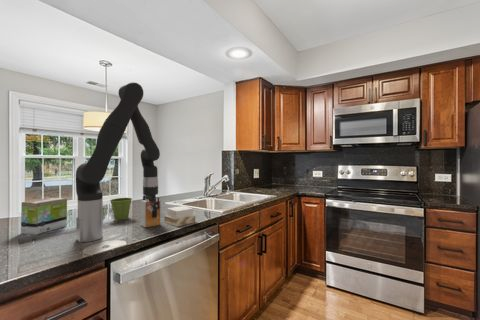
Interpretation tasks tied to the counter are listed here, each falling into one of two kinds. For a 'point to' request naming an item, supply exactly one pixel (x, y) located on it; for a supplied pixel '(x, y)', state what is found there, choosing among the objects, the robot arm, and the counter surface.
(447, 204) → the counter surface
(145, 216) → the small box
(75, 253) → the counter surface
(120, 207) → the plant pot
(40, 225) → the tea box
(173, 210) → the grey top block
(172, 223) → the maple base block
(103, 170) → the robot arm
